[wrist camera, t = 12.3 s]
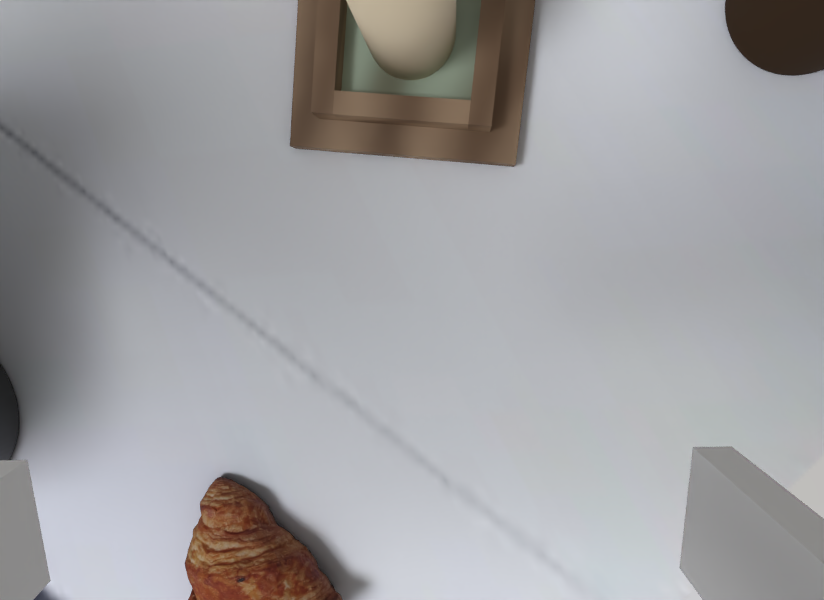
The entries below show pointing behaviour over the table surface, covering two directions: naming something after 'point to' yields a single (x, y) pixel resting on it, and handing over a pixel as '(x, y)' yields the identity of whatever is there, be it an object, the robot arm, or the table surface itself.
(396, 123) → the walnut roll stand
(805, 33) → the brown bottle
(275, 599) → the pastry
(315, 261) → the table surface
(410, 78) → the kraft paper roll
